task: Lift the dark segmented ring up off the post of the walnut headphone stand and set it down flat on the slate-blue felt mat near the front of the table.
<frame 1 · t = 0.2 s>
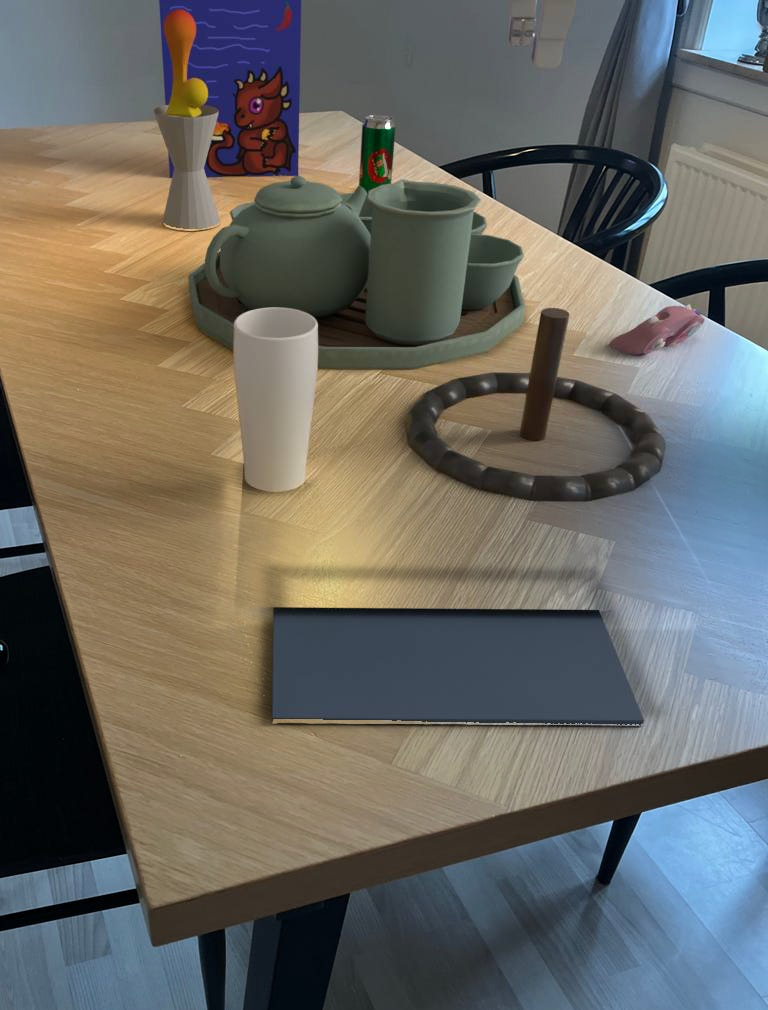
hand: (531, 55, 72), 32 cm above the table, tool pointing down, fingers open, 8 cm apart
lava lamp: (191, 224, 145), on the table
tea set: (351, 313, 119), on the table
dark segmented ring: (532, 434, 91), point 1 cm above the table
felt mat: (442, 651, 69), on the table
cereal box: (233, 173, 168), on the table
stand: (529, 448, 92), on the table
drinking glass: (275, 491, 86), on the table
soda can: (373, 203, 155), on the table
pink toy car: (651, 357, 110), on the table
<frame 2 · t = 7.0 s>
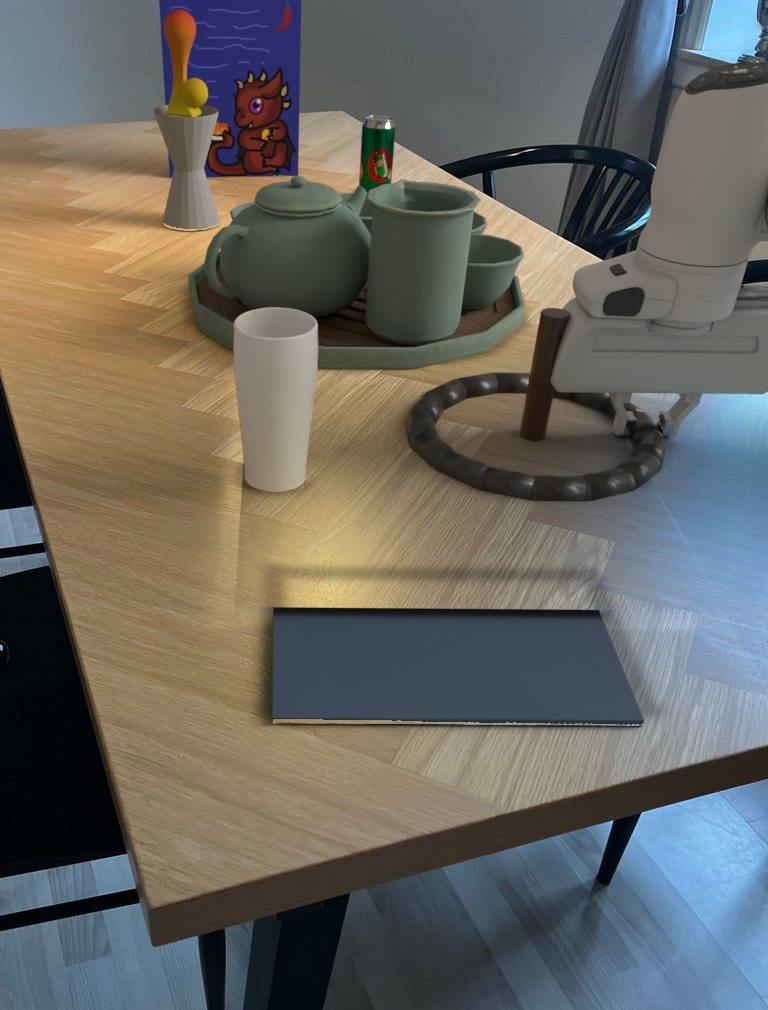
hand: (643, 433, 91), 2 cm above the table, tool pointing down, fingers closed on dark segmented ring, 3 cm apart
dark segmented ring: (532, 434, 91), point 1 cm above the table, touching gripper
everything else where it was.
when the fingers open (3 cm above the table, at t = 18.2 s): dark segmented ring stays where it is, resting on felt mat.
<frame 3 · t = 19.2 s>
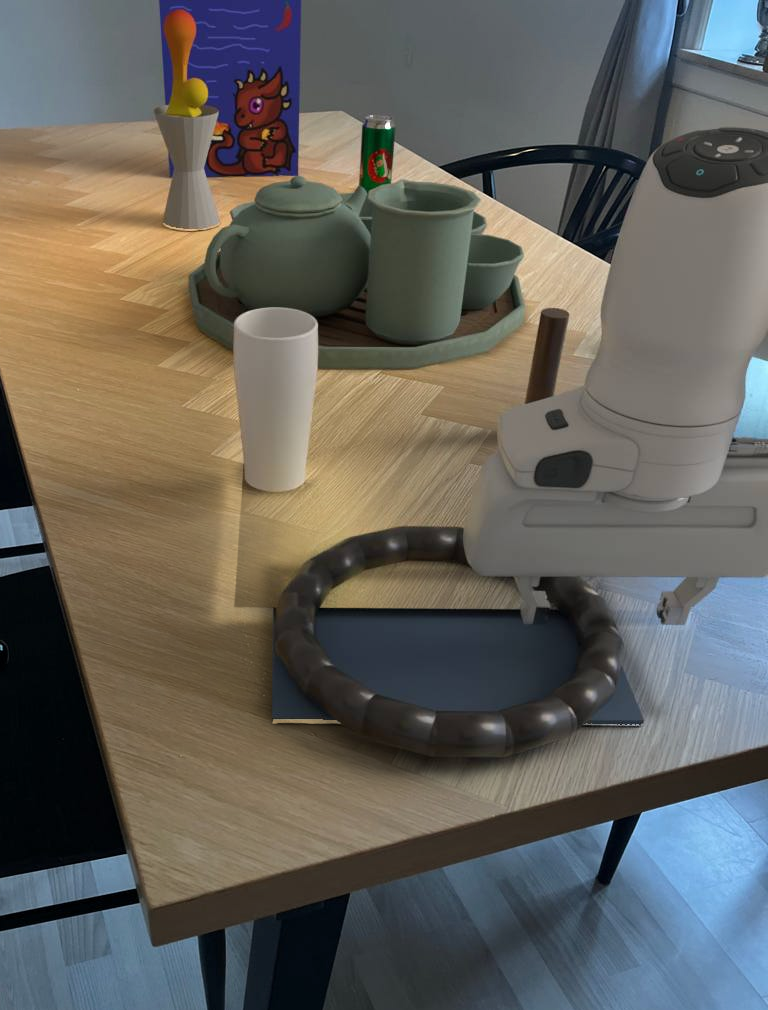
hand: (601, 619, 67), 3 cm above the table, tool pointing down, fingers open, 8 cm apart
dark segmented ring: (445, 627, 68), point 2 cm above the table, touching felt mat
everything else where it was.
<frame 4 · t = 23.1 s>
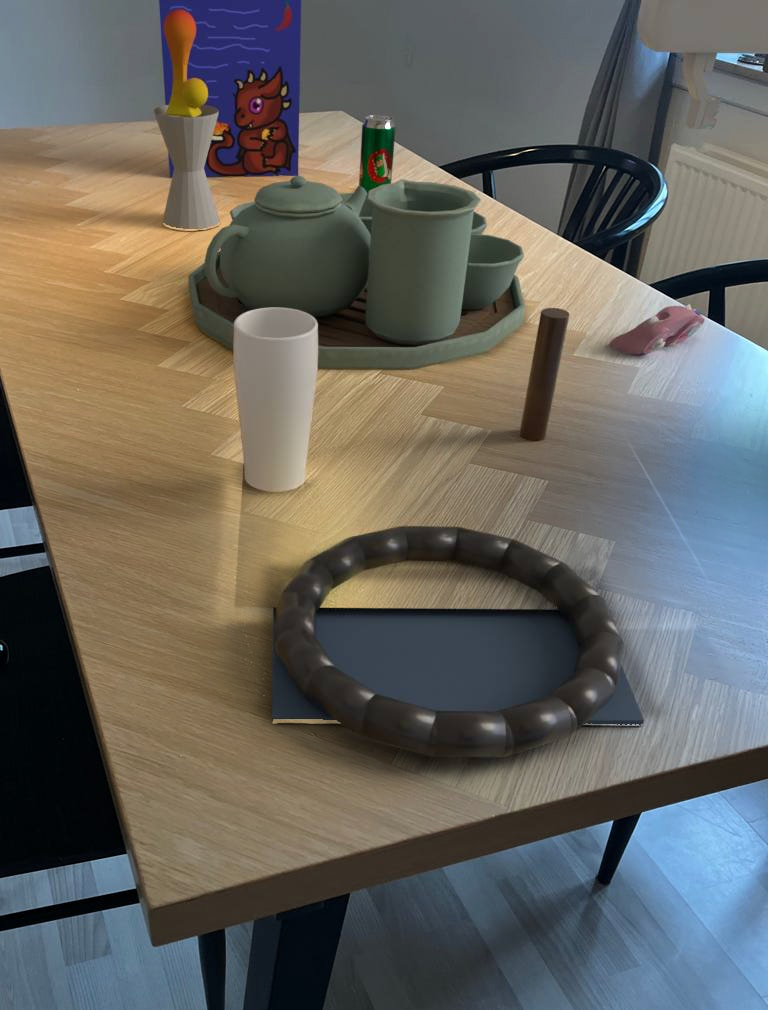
hand: (766, 128, 68), 29 cm above the table, tool pointing down, fingers open, 8 cm apart
nothing on the table moved.
at the end: dark segmented ring inside the target area on the felt mat (0.1 cm from its centre), point 2.0 cm above the felt mat's base; dark segmented ring tilted 0°; the gripper is holding nothing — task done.
